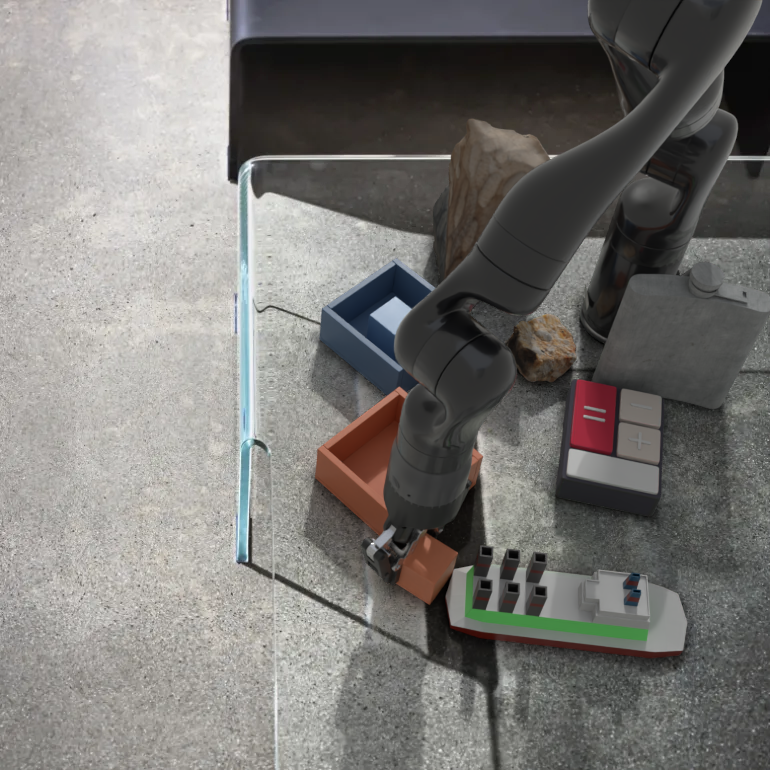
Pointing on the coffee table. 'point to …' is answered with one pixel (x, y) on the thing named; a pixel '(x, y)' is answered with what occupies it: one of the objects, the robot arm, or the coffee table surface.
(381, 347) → the blue block
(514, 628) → the toy boat
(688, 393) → the hip flask
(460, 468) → the robot arm
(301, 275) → the coffee table surface
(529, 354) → the rock
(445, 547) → the terracotta block
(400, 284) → the blue bin
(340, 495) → the terracotta bin
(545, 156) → the tall brown boulder
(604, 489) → the calculator
